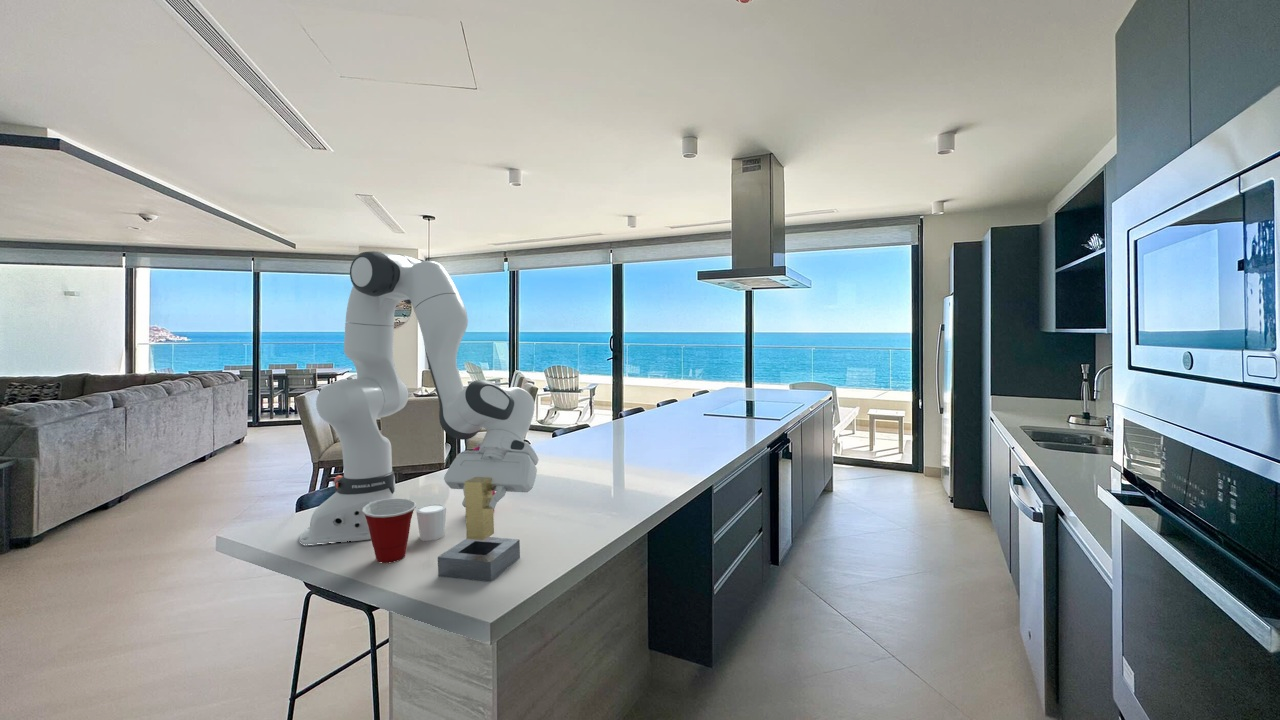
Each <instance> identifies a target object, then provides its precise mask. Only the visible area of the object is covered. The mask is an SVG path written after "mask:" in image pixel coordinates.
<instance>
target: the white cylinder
mask: <svg viewBox="0 0 1280 720" xmlns="http://www.w3.org/2000/svg"><path fill="white" fill-rule="evenodd" d="M415 511H416V512H415V513H416V517H417V526H418V533H419V539H420V540H421V541H424V540H425V542H427V541H435V540H439V539H441V537H442V538H443V537H444V536H445V532H446V531H445V530H446V518H447V517H446V512H447V506H446V505H444V504H440V503H439V504H428V505H423V506H421V507H419V508H417V509H416V510H415Z"/></svg>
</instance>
